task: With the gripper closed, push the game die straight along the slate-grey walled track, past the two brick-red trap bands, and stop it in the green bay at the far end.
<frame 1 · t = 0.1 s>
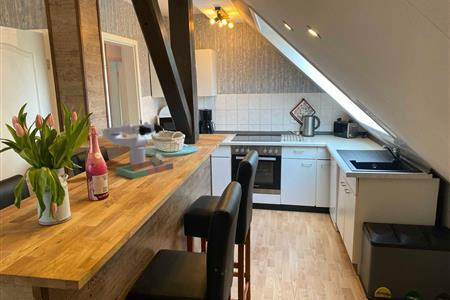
hand: (156, 129, 176), 22 cm above the worktop, tool horizontal, fingers open, 7 cm apart
trap track: (146, 170, 177), on the worktop
squeeze bottle: (94, 176, 169), on the worktop
game die: (158, 167, 183), on the worktop
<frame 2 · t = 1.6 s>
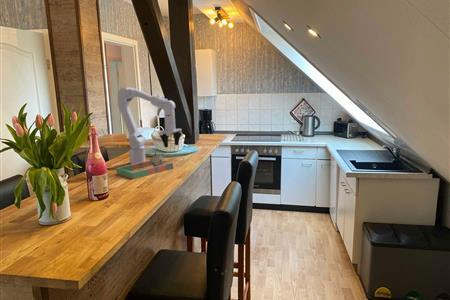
hand: (171, 146, 188), 10 cm above the worktop, tool pointing down, fingers open, 7 cm apart
nothing on the worktop moved.
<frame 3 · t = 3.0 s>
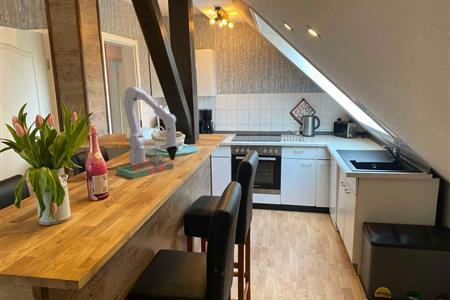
hand: (172, 159, 190), 3 cm above the worktop, tool pointing down, fingers closed
nothing on the worktop moved.
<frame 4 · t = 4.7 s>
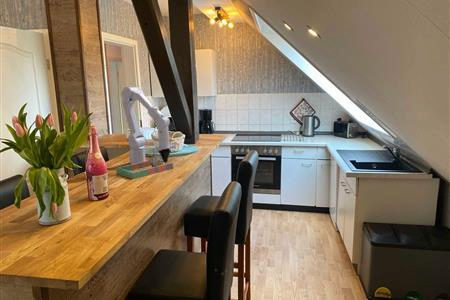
hand: (165, 162, 186), 2 cm above the worktop, tool pointing down, fingers closed
game die: (156, 168, 182), on the worktop, touching gripper
everything else where it was.
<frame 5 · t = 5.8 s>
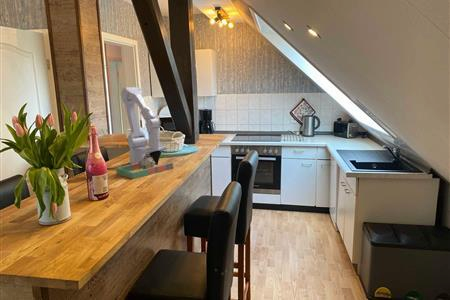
hand: (155, 164, 181), 2 cm above the worktop, tool pointing down, fingers closed
game die: (148, 170, 177), on the worktop, touching gripper
everything else where it was.
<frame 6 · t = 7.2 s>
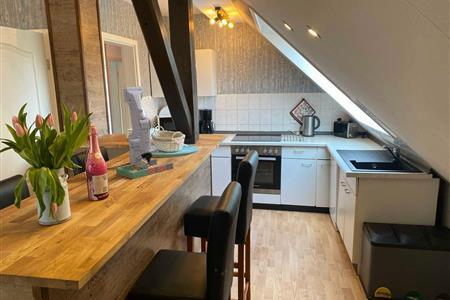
hand: (147, 166, 177), 2 cm above the worktop, tool pointing down, fingers closed
game die: (143, 172, 173), on the worktop, touching gripper
everything else where it was.
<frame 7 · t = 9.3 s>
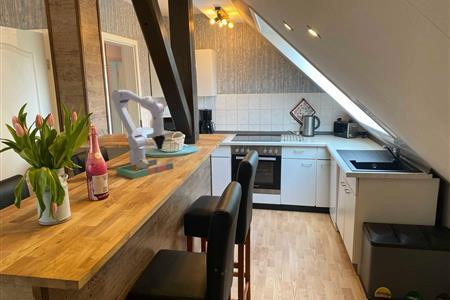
hand: (159, 149, 185), 9 cm above the worktop, tool pointing down, fingers closed
game die: (143, 173, 173), on the worktop
everything else where it was.
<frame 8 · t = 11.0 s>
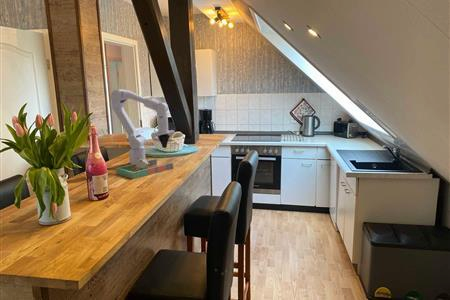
hand: (164, 147, 189), 9 cm above the worktop, tool pointing down, fingers closed
nothing on the worktop moved.
at the end: game die inside the target area (4.6 cm from its centre), on the worktop; game die tilted 0° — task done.
